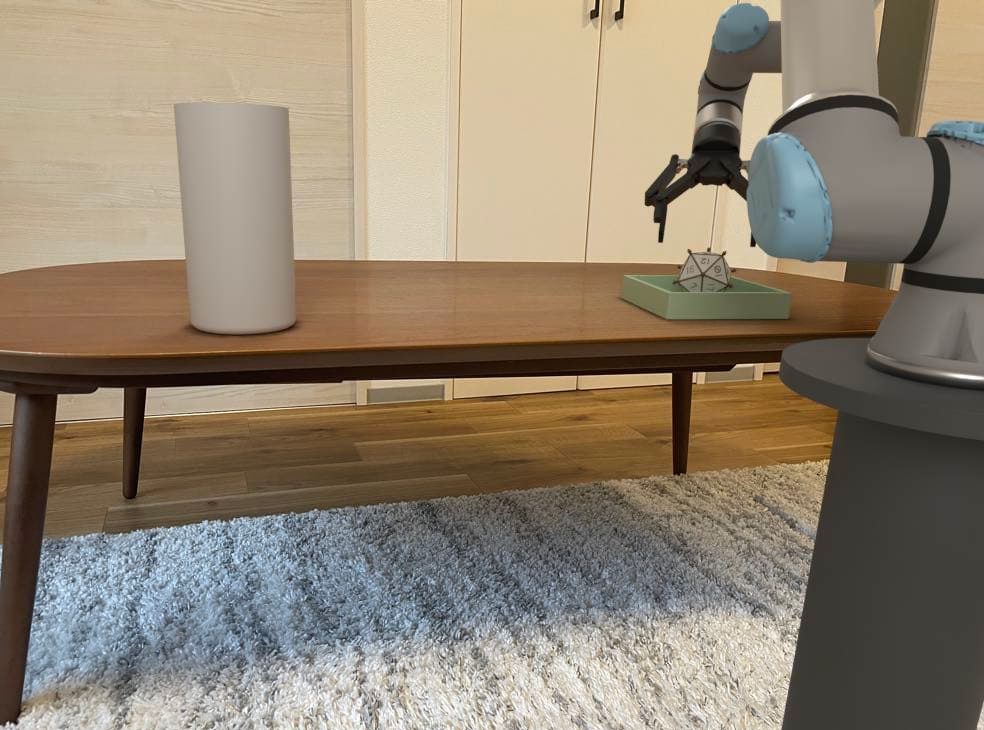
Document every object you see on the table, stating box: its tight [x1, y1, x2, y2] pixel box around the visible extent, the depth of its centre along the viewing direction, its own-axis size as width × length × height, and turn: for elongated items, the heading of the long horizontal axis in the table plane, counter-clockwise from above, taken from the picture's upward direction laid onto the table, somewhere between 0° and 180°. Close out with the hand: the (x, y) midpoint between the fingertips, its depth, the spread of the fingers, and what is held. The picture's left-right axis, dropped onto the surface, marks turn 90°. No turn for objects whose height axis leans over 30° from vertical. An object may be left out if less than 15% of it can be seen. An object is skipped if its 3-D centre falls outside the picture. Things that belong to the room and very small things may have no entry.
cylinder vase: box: [173, 101, 297, 336], centre depth 91 cm, size 12×12×25 cm
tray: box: [621, 274, 793, 320], centre depth 113 cm, size 18×18×4 cm
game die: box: [672, 246, 738, 292], centre depth 113 cm, size 9×8×10 cm
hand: (706, 239), depth 119 cm, fingers open, 13 cm apart
